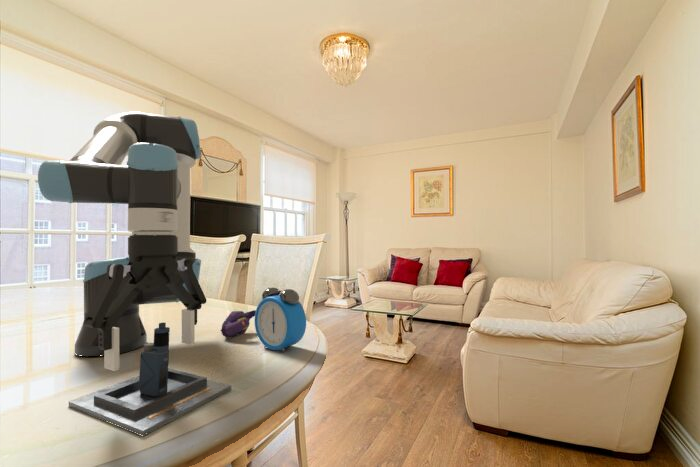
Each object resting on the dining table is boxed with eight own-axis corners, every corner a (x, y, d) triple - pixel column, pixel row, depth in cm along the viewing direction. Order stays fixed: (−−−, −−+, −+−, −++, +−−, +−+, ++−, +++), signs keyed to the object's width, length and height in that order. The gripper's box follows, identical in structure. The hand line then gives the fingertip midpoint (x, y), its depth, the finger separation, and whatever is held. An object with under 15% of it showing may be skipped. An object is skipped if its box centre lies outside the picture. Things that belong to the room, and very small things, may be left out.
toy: (259, 330, 101) (260, 309, 101) (245, 344, 90) (246, 320, 90) (224, 327, 102) (225, 306, 102) (205, 341, 90) (206, 316, 90)
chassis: (68, 406, 55) (68, 394, 55) (160, 371, 69) (160, 362, 70) (142, 436, 46) (142, 422, 46) (231, 389, 61) (231, 378, 61)
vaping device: (157, 397, 56) (161, 325, 57) (135, 393, 58) (138, 322, 58) (170, 392, 58) (173, 322, 59) (148, 387, 60) (152, 320, 61)
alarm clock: (253, 346, 85) (253, 288, 86) (272, 340, 91) (271, 285, 91) (290, 356, 78) (289, 291, 78) (307, 349, 83) (307, 288, 83)
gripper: (82, 233, 46) (82, 388, 46) (224, 233, 68) (225, 337, 68) (55, 234, 49) (55, 378, 49) (199, 234, 71) (199, 333, 71)
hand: (153, 355), depth 58 cm, fingers open, 13 cm apart
